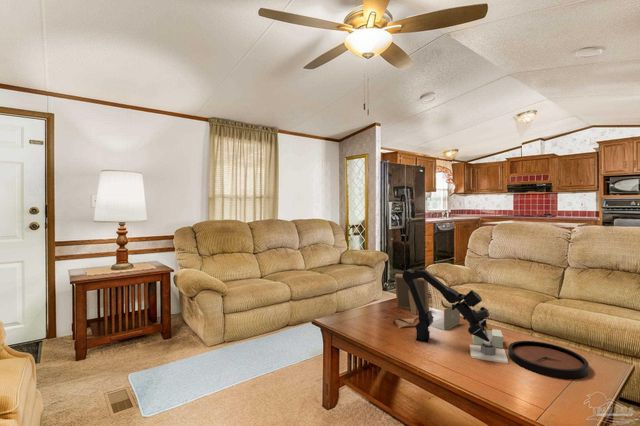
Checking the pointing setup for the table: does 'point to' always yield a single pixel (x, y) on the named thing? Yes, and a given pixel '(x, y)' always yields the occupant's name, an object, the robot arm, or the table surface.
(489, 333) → the gold topped patterned cylinder
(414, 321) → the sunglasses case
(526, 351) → the wall clock
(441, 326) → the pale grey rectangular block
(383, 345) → the table surface
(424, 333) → the robot arm
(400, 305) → the tall grey box
